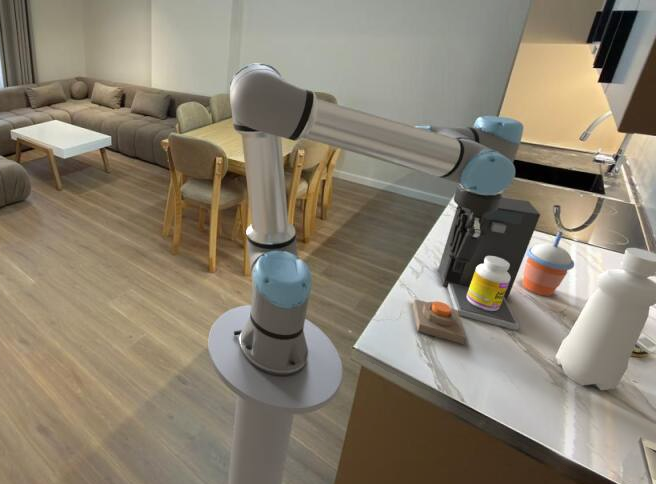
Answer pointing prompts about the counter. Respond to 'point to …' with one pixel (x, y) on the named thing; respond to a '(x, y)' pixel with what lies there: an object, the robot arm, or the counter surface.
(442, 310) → the button
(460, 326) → the control block
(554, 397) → the counter surface
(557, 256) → the cup with straw
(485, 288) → the supplement bottle
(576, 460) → the counter surface
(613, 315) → the bottle
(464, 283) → the coffee maker
